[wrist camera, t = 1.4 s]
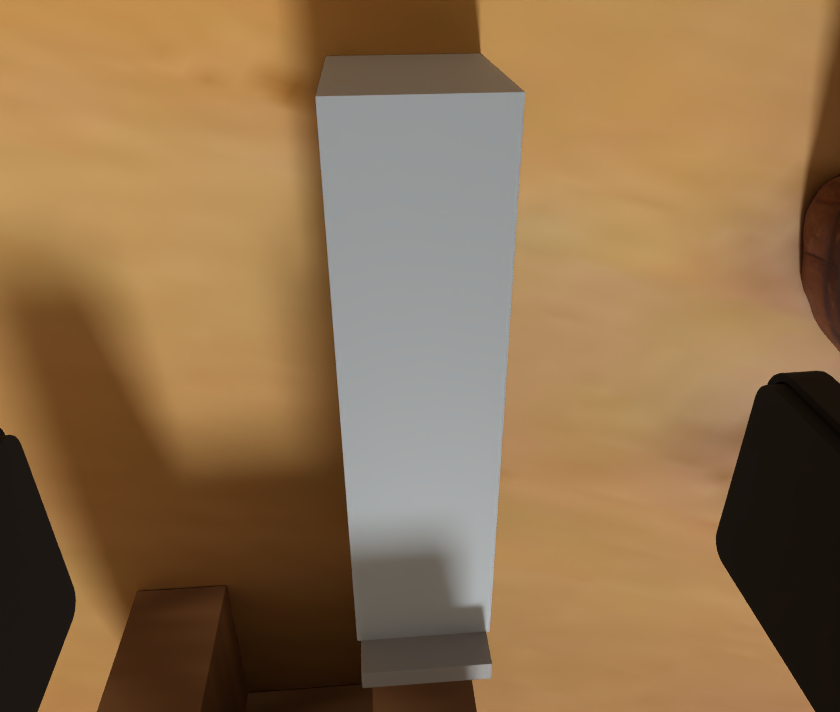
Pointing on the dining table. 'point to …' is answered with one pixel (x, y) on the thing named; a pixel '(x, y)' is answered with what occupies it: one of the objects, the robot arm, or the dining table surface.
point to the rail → (421, 344)
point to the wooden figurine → (823, 259)
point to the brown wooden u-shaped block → (231, 667)
